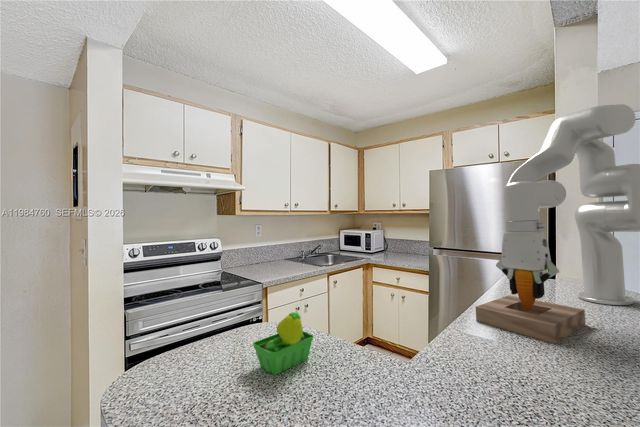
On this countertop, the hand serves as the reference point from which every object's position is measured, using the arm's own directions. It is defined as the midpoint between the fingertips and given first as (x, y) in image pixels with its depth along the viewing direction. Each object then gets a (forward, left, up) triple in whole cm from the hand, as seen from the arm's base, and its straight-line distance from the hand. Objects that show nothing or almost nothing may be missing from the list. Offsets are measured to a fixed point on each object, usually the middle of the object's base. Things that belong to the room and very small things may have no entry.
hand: (526, 294), depth 76 cm
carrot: (0, 0, -5) cm, 5 cm away
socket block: (0, 0, -7) cm, 7 cm away
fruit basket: (+62, -19, -8) cm, 65 cm away
